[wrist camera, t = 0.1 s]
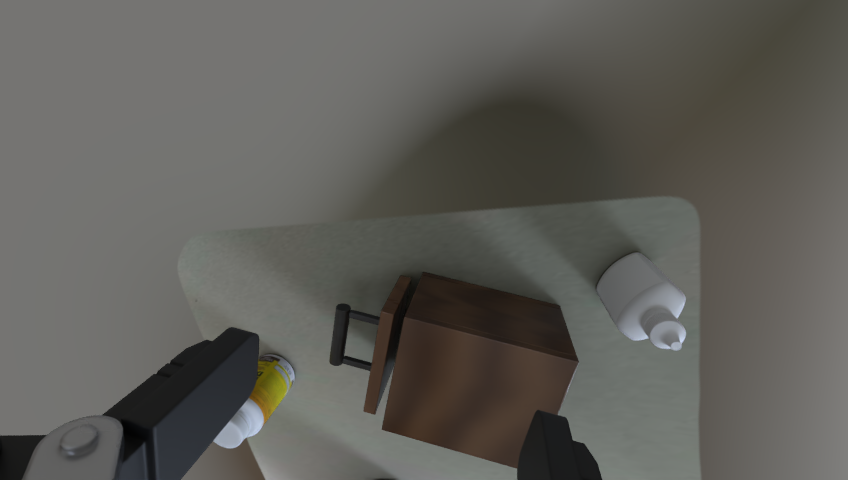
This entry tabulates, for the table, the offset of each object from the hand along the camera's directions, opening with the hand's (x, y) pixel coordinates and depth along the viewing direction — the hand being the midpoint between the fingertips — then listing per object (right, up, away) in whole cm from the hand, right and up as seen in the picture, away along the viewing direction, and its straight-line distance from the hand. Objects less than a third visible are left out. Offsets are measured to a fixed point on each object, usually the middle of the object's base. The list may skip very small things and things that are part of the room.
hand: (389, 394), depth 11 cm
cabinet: (+7, -7, +32) cm, 34 cm away
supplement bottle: (-18, -12, +39) cm, 44 cm away
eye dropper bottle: (+20, +1, +28) cm, 34 cm away
